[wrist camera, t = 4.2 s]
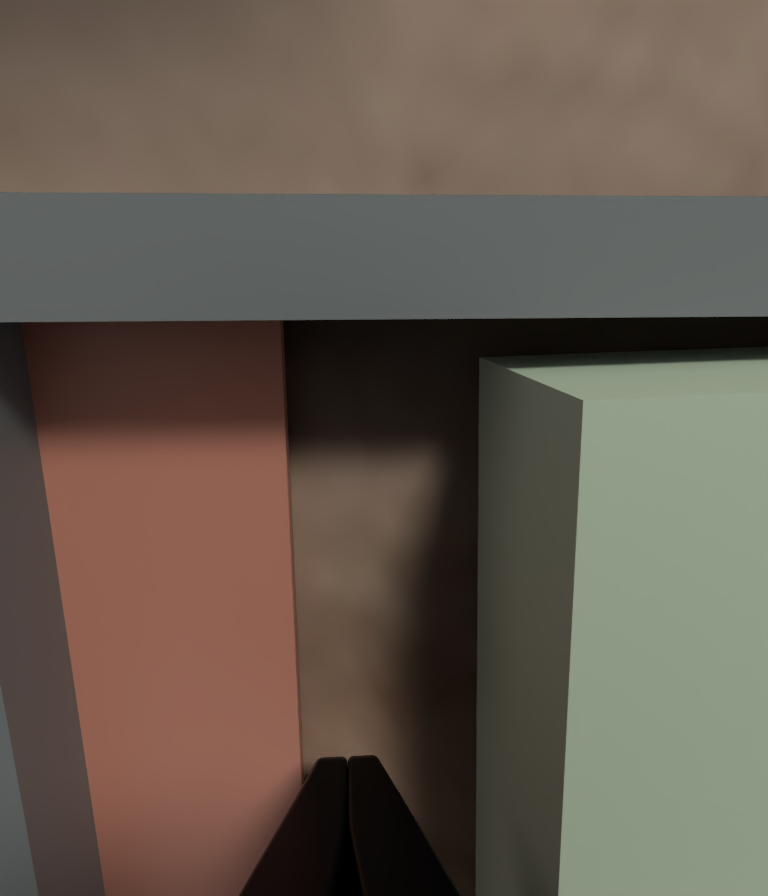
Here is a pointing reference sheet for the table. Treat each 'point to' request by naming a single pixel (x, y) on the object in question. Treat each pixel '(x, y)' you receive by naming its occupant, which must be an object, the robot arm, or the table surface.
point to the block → (623, 624)
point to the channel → (230, 478)
